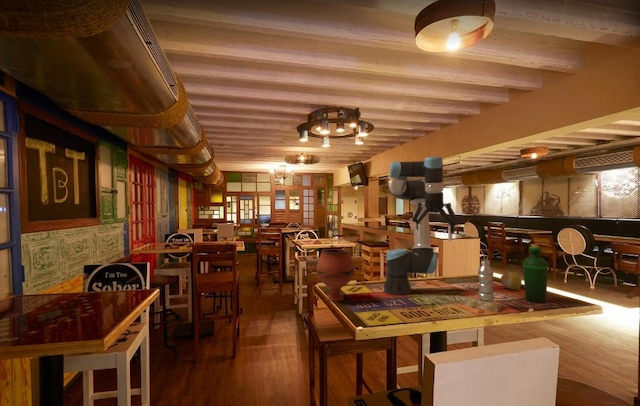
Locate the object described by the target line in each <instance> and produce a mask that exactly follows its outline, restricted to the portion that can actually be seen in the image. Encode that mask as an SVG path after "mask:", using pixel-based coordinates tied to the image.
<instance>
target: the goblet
mask: <svg viewBox="0 0 640 406" xmlns="http://www.w3.org/2000/svg"><path fill="white" fill-rule="evenodd" d="M354 274H355V265H354V262H353V259H352V257H351V254H350V250H349V249H338V248H330V249H322V250H321V254H320V255H319V258H318V262H317V264H316V275H317V277H318V278H319V280H320V281H321V282H322V283H323V284H324V285H325V286H326V287H328V288H329V291H330V293H328V294H327V296H326V300H327V301H330V302H341V301H344V300H345V299H344V296H343V295H342V293H341V290H342V288H343V287H346V286H347V285H348V284H349V283H350V282H351V281H352V279H353V277H354Z"/></svg>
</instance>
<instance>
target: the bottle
mask: <svg viewBox="0 0 640 406" xmlns="http://www.w3.org/2000/svg"><path fill="white" fill-rule="evenodd" d="M530 245H531V246H529V247H528V252H529V256H528V257H526V258H524V260H523V261H522V269H523V270H522V271H523V281H524V282H523V284H524V296H525V300H528V301H529V302H533V303H539V304H543V303H546V302H547V291H548V290H547V289H548V288H547V287H548V270H549V263H548V262H547V261H546V259H544V258H543V257H541V253H542V248H541V247H539V244H538V243H537V244H536V243H535V244H534V243H532V244H530Z"/></svg>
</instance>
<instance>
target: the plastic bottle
mask: <svg viewBox="0 0 640 406" xmlns="http://www.w3.org/2000/svg"><path fill="white" fill-rule="evenodd" d="M490 265H491V261H490V260H488V259H482V260H480V267H479V268H478V269H477V274H478V283H479V288H478V296H477V298H478V300H479V301H485V302H490V303H495V302H494V301H495V296H494V291H493V289H494V288H493V280H494V270H493V269H492V267H491V266H490Z"/></svg>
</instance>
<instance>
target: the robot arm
mask: <svg viewBox="0 0 640 406" xmlns="http://www.w3.org/2000/svg"><path fill="white" fill-rule="evenodd" d="M443 161H444V160H443V157H442V156H428V157H424V160H419V161H417V160H416V161H413V160H412V161H392V162H390V164H389V177H390V178H391V181H390V182H389V184H388V190H389V193H390V195H392V196H393V197H395V198H396V199H398V200H399V199H400V200H403V201H404V200H406V201H407V200H409V204H410V205H412V220H411V221H412V223H413V224H412V225H413V226H412V227H413V247H412V248H411V251H409V250H408V249H407V248H397V249H391V250H388V251H387V253H386V259H385V260H386V277H385V278H386V279H385V282H384V284H383V292H384V293H387V294H390V295H395V296H406V295H411V294H412V293H413V292H412V291H413V290H412V286H411V283H410V280H409V274H425V275H426V274H427V275H428V274H430V275H431V274H434V273H435V271H436V270H437V265H438V253H437V252H435V251H434V248H433V247H432V246H431V238H430V237H431V236H430V235H431V234H430V233H431V232H430V217H429V214H431V213H434V214H438V213H439V214H440V215H441V216H442V217H443V219H444V220H445V221H446V223H448V228H447V230H448V235H447V237H448V242H451V241H452V240H453V234H454V233H455V231H456V230H455V226H457V225H459V224H460V221H459V220H458V218H457V216H456V214H455V212H454V210H453V208H452V204H451V202H448V203H445V202H444V192H443V191H444V170H443V169H444V168H443V167H444V162H443ZM408 178H424V179H408ZM444 208H445V209H446V210H447V212H448V214H447V213H446V211H445V209H444Z"/></svg>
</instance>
